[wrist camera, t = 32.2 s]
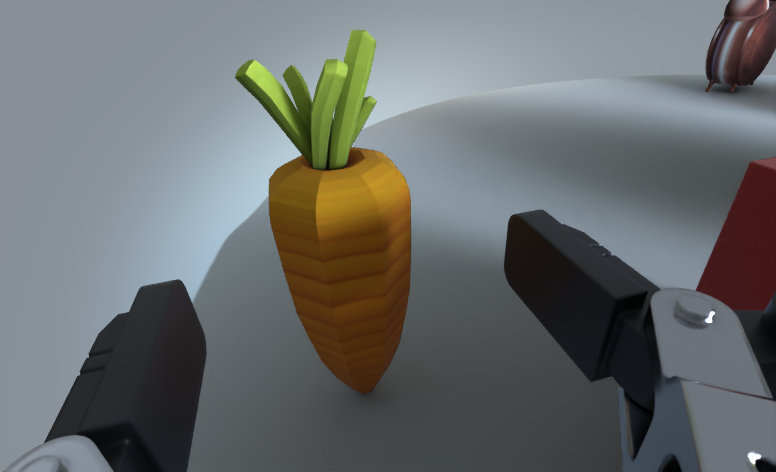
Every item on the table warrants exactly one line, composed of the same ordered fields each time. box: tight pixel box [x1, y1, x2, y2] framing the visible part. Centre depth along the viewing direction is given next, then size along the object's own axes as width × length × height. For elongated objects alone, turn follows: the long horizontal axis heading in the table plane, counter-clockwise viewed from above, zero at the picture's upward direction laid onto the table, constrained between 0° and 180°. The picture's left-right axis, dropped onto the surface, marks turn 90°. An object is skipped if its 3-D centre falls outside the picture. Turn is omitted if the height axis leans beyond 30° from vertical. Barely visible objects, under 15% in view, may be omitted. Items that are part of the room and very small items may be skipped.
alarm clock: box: [706, 0, 776, 92], centre depth 56 cm, size 11×5×15 cm, turn 122°
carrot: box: [235, 30, 411, 394], centre depth 15 cm, size 5×5×15 cm
